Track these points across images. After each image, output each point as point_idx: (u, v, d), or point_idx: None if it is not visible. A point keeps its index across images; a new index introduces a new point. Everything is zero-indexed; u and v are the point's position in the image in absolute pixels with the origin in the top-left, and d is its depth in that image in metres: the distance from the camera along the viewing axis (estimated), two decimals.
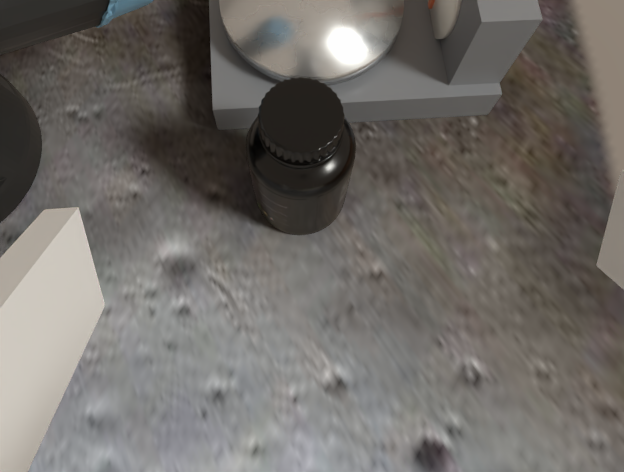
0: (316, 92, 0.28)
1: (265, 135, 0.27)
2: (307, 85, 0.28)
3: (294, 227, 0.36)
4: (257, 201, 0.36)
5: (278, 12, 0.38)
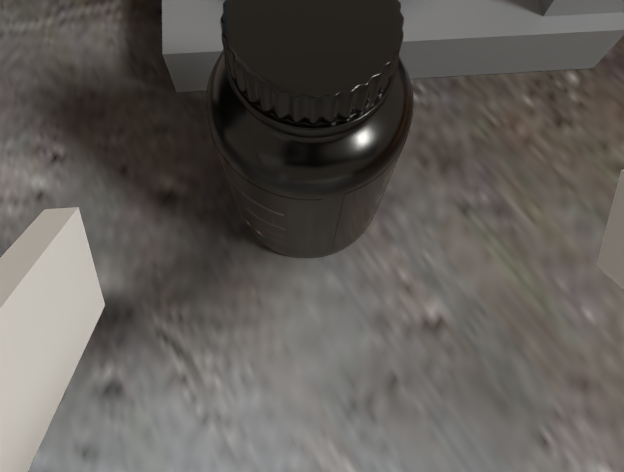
0: None
1: (235, 61, 0.13)
2: None
3: (298, 247, 0.21)
4: (235, 204, 0.22)
5: None
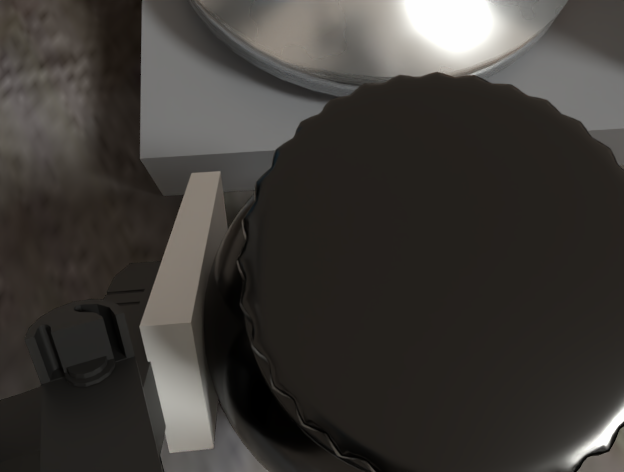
0: (518, 144, 0.06)
1: (276, 382, 0.05)
2: (472, 110, 0.06)
3: None
4: None
5: None
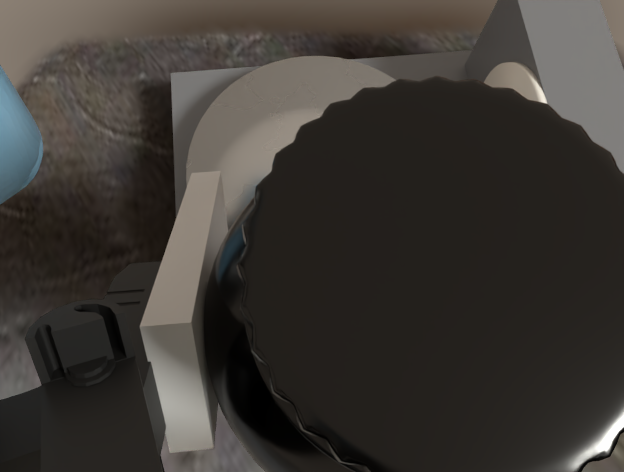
0: (518, 148, 0.06)
1: (276, 387, 0.05)
2: (472, 114, 0.06)
3: None
4: None
5: None
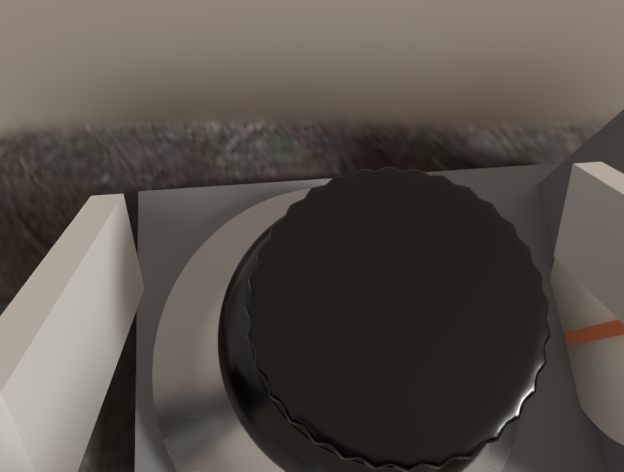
0: (445, 221, 0.08)
1: (272, 393, 0.07)
2: (413, 196, 0.08)
3: None
4: None
5: None
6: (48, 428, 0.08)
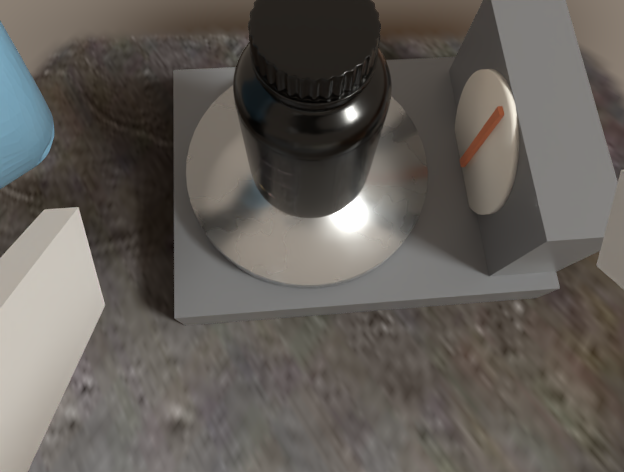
0: None
1: (259, 53, 0.18)
2: None
3: (301, 206, 0.26)
4: (251, 171, 0.27)
5: None
6: None
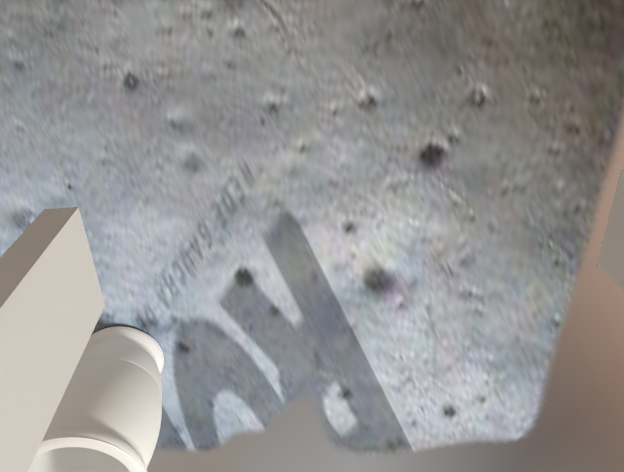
0: None
1: None
2: None
3: None
4: None
5: None
6: None
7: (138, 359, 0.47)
